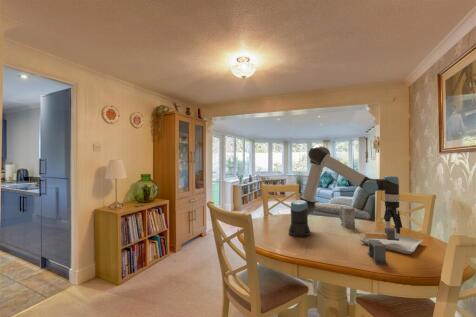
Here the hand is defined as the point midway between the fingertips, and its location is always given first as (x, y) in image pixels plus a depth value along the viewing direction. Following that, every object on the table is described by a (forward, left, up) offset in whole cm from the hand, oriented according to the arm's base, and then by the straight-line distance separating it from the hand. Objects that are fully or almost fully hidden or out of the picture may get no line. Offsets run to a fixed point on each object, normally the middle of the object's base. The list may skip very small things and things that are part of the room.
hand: (392, 234), depth 141 cm
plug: (-6, 0, -3) cm, 6 cm away
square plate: (-1, 0, -7) cm, 7 cm away
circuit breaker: (-18, +39, -6) cm, 43 cm away
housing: (-18, -26, -6) cm, 32 cm away
